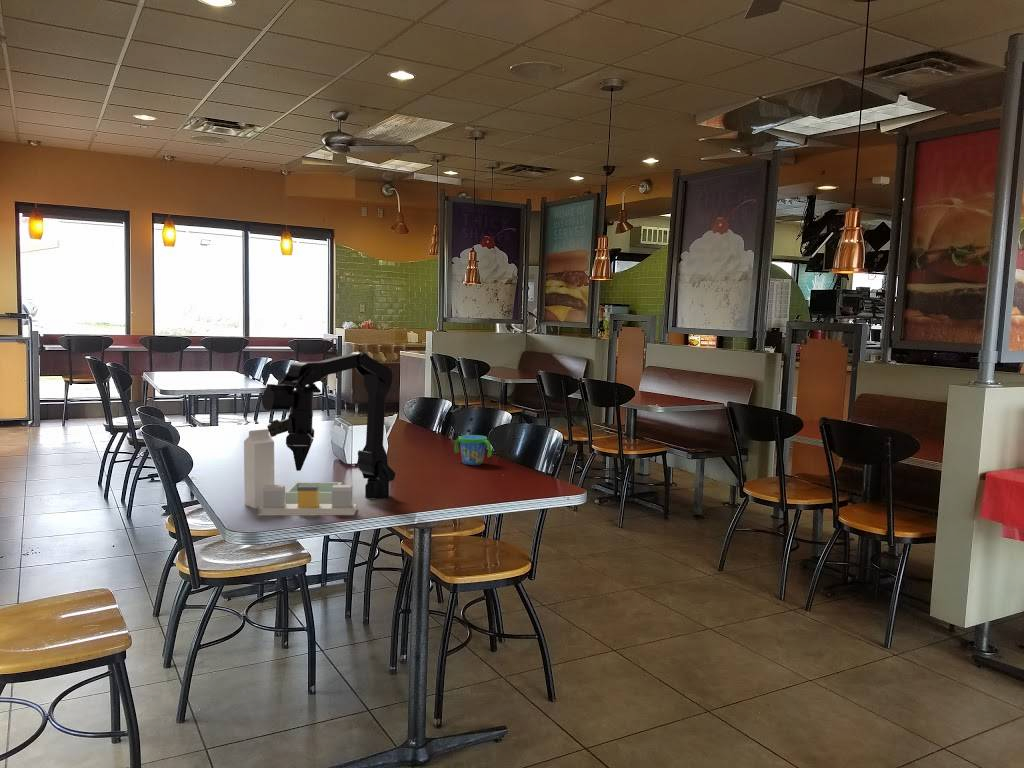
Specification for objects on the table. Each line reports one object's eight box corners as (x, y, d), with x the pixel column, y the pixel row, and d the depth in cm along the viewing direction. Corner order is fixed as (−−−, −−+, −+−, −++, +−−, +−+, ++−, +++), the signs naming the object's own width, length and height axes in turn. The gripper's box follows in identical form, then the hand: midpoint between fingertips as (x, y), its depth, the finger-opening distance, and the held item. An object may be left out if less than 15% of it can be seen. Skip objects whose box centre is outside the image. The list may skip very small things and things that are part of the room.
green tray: (341, 497, 226) (341, 482, 225) (334, 508, 212) (334, 492, 212) (295, 497, 225) (295, 482, 224) (285, 508, 211) (285, 492, 211)
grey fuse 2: (352, 510, 206) (352, 484, 206) (350, 513, 203) (350, 487, 203) (333, 510, 206) (333, 484, 206) (331, 513, 203) (331, 487, 203)
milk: (274, 508, 211) (274, 430, 209) (254, 512, 207) (254, 432, 205) (264, 504, 215) (263, 427, 214) (243, 507, 211) (243, 429, 209)
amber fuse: (318, 510, 206) (318, 484, 205) (316, 513, 203) (316, 487, 202) (300, 510, 205) (299, 484, 205) (297, 513, 202) (297, 487, 202)
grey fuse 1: (285, 510, 205) (284, 484, 205) (282, 513, 202) (282, 487, 202) (266, 510, 205) (266, 484, 204) (263, 513, 202) (263, 487, 201)
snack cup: (497, 464, 282) (498, 437, 281) (479, 468, 274) (480, 440, 273) (466, 459, 292) (466, 433, 291) (447, 463, 283) (447, 436, 282)
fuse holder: (357, 512, 209) (357, 503, 208) (353, 518, 202) (353, 509, 201) (264, 512, 207) (263, 503, 206) (257, 518, 200) (257, 509, 200)
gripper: (273, 405, 209) (271, 461, 209) (266, 411, 190) (264, 473, 191) (315, 406, 211) (313, 462, 212) (311, 413, 193) (309, 473, 193)
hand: (299, 467), depth 202 cm, fingers open, 9 cm apart
